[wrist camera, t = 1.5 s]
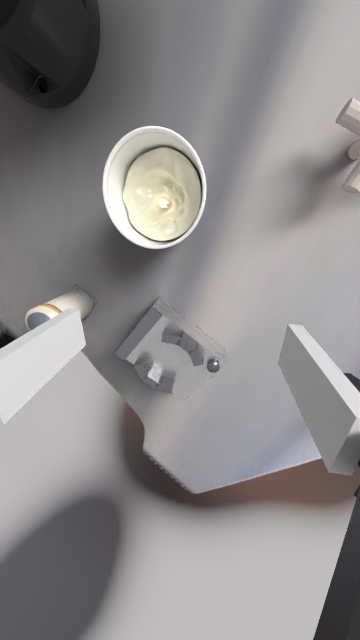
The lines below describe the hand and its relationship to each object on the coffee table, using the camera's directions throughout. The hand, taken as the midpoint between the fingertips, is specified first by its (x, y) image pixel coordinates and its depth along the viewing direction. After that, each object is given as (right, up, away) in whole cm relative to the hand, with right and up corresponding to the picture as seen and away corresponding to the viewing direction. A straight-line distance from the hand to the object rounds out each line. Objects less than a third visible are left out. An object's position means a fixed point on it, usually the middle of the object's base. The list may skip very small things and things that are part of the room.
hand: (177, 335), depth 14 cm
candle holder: (-1, +18, +17) cm, 25 cm away
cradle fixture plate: (-1, -3, +26) cm, 26 cm away
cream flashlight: (-18, +4, +25) cm, 31 cm away
